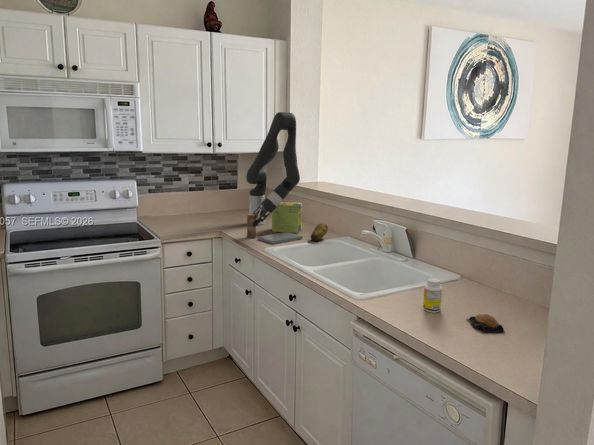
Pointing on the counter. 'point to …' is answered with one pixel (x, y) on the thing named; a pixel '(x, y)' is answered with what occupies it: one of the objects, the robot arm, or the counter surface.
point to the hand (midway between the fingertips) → (251, 224)
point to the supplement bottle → (432, 295)
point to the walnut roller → (251, 226)
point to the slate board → (280, 238)
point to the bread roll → (485, 324)
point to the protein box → (287, 217)
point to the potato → (319, 232)
